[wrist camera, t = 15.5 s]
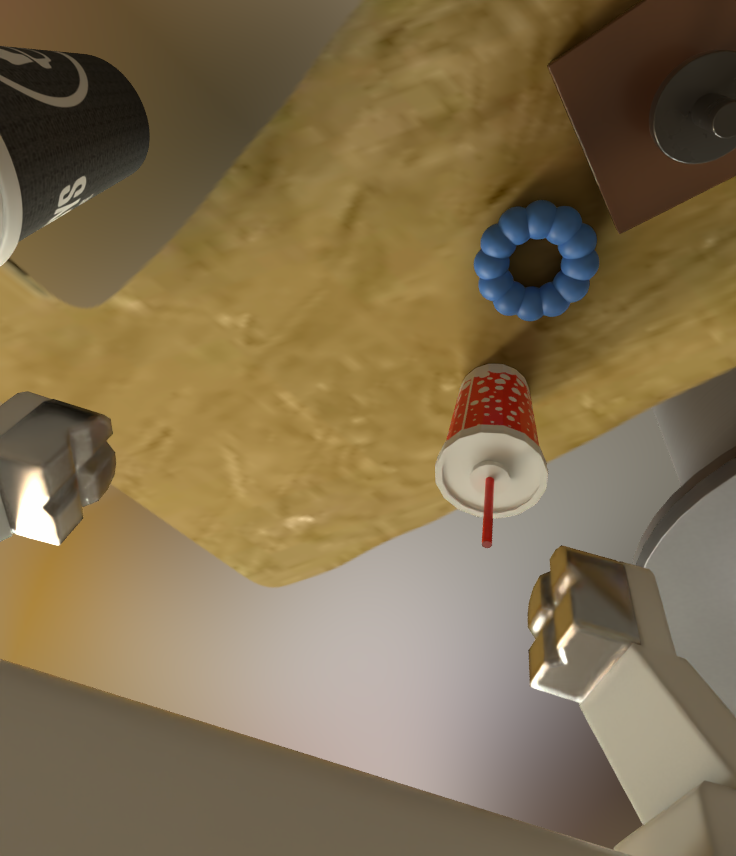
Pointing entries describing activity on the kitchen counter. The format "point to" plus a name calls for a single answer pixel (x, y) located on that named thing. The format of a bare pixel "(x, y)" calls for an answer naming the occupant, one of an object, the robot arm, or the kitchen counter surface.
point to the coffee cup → (62, 136)
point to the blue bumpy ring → (537, 224)
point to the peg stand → (654, 104)
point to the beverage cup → (492, 448)
